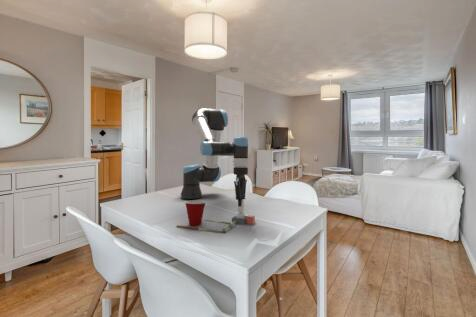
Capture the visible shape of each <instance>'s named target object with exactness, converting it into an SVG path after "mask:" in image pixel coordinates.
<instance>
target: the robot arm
mask: <svg viewBox="0 0 476 317" xmlns="http://www.w3.org/2000/svg"><path fill="white" fill-rule="evenodd" d="M191 122H192V125H193V126H194V128H196V130H197V133H198V137H199V139H200V141H201V142H200V147H199V150H200V154H201V156H205V162H203V163H202V165H200V164H191V165H185V166H184V167H183V171H182V174H183V175H182V176H183V178H182V179H183V180H182V181H183V182H182V184H183V185H182V190H181V191H180V198H181V199H184V200H185V199H186V200H187V199H188V200H189V199H190V200H193V199H194V200H195V199H200V198H202V197H203V192H202V189H201V187H200V183H215V182H218V181H219V180H220V178H221V175H222V172H221V171H222V169H221V167H220V165H219V163H218V159H219V157H221V156H222V157H223V156H225V157H226V156H227V157H228V156H229V157H233V161H232V162H233V166H234V167H233V175H235V176H236V177H235V180H234V181H233V185H234V191H235V193H234V194H235V200H236V201H237V213H240V212H241V213H244V210H245V209H244V208H245V206H244V204H245V203H244V200H246V190H247V182H248V180H247V179H246V175H249V167H248V166H249V141H248V138H247V137H245V136H244V137H243V136H236V137H234V138H233V140H232V141H230V142H229V141H226V142H225V141H221V136H222V132H223V131H224V130H225V128H227V127H228V124H229V123H228V122H229V117H228V113H227V111H226V110H225V109H220V108H207V107H202V108H199V109H197V110H196V111H195V112H194V113H193V114H192V116H191Z"/></svg>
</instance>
